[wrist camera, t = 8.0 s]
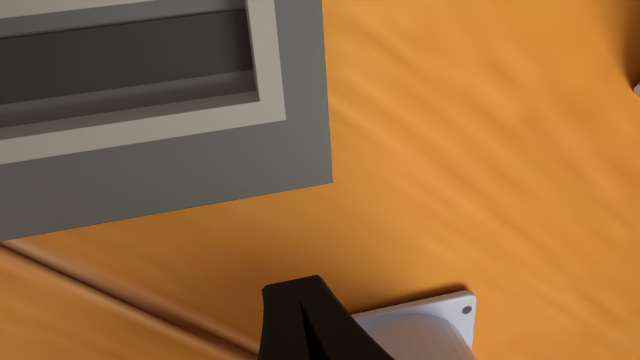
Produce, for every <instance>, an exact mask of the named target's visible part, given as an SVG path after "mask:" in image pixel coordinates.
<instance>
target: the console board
mask: <svg viewBox="0 0 640 360" xmlns="http://www.w3.org/2000/svg"><path fill="white" fill-rule="evenodd" d="M328 183H333V178H332V162H331V146H330V130H329V114H328V97H327V81H326V65H325V49H324V33H323V16H322V0H0V241H4V240H10V239H16V238H21V237H27V236H33V235H38V234H44V233H50V232H55V231H61V230H67V229H73V228H78V227H84V226H90V225H95V224H101V223H107V222H112V221H118V220H124V219H129V218H135V217H141V216H146V215H152V214H158V213H163V212H169V211H175V210H180V209H186V208H192V207H197V206H203V205H209V204H215V203H220V202H226V201H232V200H237V199H243V198H249V197H254V196H260V195H266V194H271V193H277V192H283V191H288V190H294V189H300V188H305V187H311V186H317V185H322V184H328Z"/></svg>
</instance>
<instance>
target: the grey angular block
mask: <svg viewBox="0 0 640 360" xmlns="http://www.w3.org/2000/svg"><path fill="white" fill-rule="evenodd" d="M634 93H635V94H636V95H638V96H639V97H640V82H639V83H638V84H637V85H636V87H635V88H634Z"/></svg>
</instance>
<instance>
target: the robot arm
mask: <svg viewBox="0 0 640 360" xmlns="http://www.w3.org/2000/svg"><path fill="white" fill-rule="evenodd" d="M262 295H263V303H264V314H263V328H262V336H261V343H260V350H259V356H258V360H477V359H476V357H475V356H474V354H473V352H472V342H473V331H474V321H475V311H476V296H475V295H474V293H473V292H472V291H470V290H464V291H459V292H455V293H450V294H445V295H441V296H436V297H431V298H427V299H422V300H417V301H413V302H408V303H403V304H399V305H394V306H390V307H385V308H380V309H376V310H371V311H366V312H362V313H357V314H352V315H350V314H349V313H348V311H347V310H346V309H345V308H344V307H343V305H342V304H341V303H340V302H339V301H338V299H337V298H336V297H335V296H334V294H333V293H332V292H331V290H330V289H329V288H328V286H327V285H326V283H325V282H324V280H323V279H322V278H321V277H320V276H318V275H314V276H309V277H304V278H299V279H294V280H290V281H285V282H280V283H275V284H270V285H266V286H265V287H264V288H263V289H262ZM466 306H467V307H466ZM464 307H466V308H464ZM463 308H464V309H463Z"/></svg>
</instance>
